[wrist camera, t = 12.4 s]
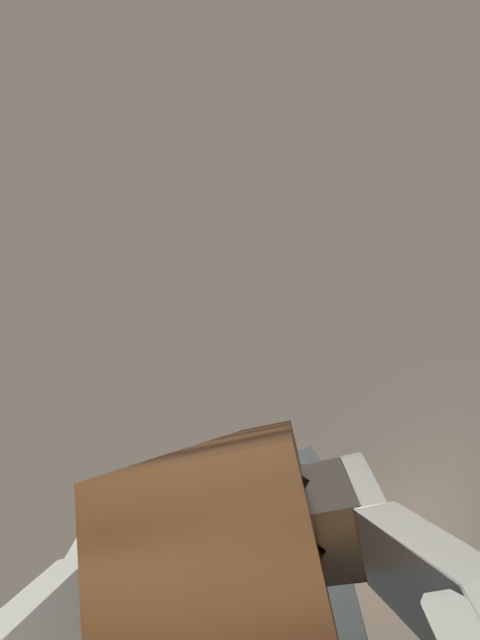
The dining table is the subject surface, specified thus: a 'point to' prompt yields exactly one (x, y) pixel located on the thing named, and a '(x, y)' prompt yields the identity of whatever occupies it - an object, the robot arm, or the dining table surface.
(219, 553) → the walnut block
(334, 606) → the slate stand
